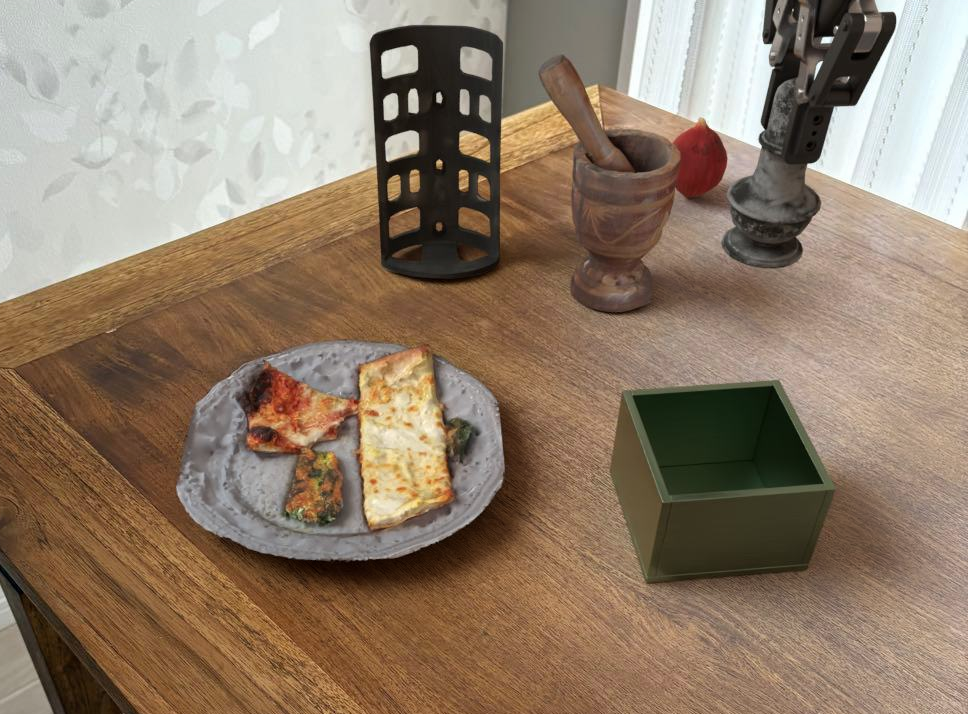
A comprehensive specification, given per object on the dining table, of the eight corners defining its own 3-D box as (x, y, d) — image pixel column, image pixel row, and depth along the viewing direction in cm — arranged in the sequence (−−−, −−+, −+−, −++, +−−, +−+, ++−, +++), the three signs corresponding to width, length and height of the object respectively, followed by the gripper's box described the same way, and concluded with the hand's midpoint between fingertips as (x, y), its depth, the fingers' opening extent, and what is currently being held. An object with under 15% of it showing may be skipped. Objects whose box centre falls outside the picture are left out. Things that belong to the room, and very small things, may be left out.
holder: (383, 286, 99) (375, 51, 86) (373, 249, 104) (364, 22, 91) (505, 277, 100) (515, 43, 87) (488, 240, 106) (496, 16, 93)
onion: (730, 196, 110) (747, 118, 104) (697, 219, 107) (713, 140, 101) (681, 176, 113) (695, 99, 107) (648, 197, 110) (660, 119, 104)
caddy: (756, 460, 83) (779, 379, 78) (807, 570, 75) (836, 489, 70) (609, 471, 82) (622, 390, 77) (645, 583, 75) (662, 502, 69)
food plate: (210, 359, 92) (204, 323, 89) (492, 357, 92) (493, 321, 89) (164, 585, 75) (154, 549, 72) (510, 582, 75) (513, 546, 72)
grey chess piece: (826, 253, 73) (880, 71, 64) (761, 281, 71) (809, 96, 62) (761, 214, 76) (805, 36, 68) (698, 239, 74) (734, 58, 65)
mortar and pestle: (533, 321, 95) (551, 93, 81) (521, 266, 101) (535, 44, 87) (666, 316, 96) (707, 88, 82) (646, 261, 102) (681, 40, 88)
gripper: (1003, -140, 51) (890, 200, 64) (888, -216, 61) (809, 92, 74) (846, -136, 51) (762, 206, 63) (755, -214, 61) (698, 96, 73)
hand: (788, 143), depth 68 cm, fingers closed on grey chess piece, 3 cm apart
